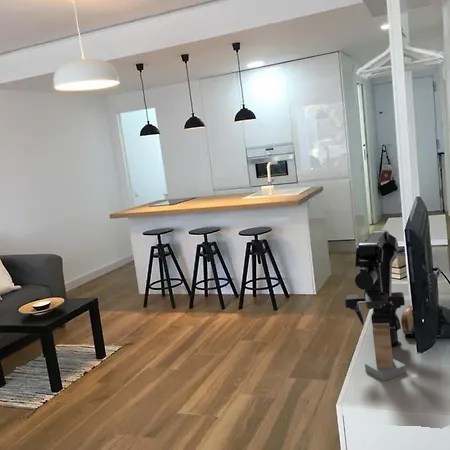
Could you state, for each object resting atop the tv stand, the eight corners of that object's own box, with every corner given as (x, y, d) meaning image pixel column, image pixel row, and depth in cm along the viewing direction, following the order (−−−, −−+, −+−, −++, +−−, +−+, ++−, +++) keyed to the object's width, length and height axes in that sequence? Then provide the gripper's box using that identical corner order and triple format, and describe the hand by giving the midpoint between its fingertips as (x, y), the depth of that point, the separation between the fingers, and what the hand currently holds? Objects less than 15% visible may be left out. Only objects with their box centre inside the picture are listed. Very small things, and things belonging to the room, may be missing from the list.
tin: (410, 338, 184) (408, 317, 182) (401, 338, 185) (399, 316, 184) (419, 322, 196) (417, 302, 195) (410, 322, 198) (408, 301, 196)
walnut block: (377, 360, 166) (372, 323, 164) (392, 360, 164) (389, 323, 162) (376, 367, 161) (372, 329, 159) (393, 367, 160) (389, 329, 157)
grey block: (387, 362, 169) (386, 355, 169) (406, 372, 161) (405, 364, 160) (365, 370, 166) (364, 363, 165) (383, 381, 158) (383, 373, 157)
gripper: (341, 289, 162) (347, 334, 164) (403, 286, 156) (407, 333, 158) (344, 278, 172) (349, 321, 175) (401, 275, 166) (406, 319, 169)
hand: (377, 324), depth 169 cm, fingers open, 9 cm apart
